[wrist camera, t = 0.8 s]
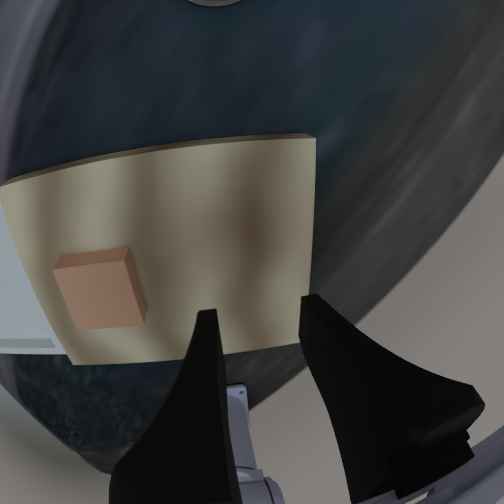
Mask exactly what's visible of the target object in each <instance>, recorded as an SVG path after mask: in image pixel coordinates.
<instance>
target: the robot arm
mask: <svg viewBox="0 0 504 504" xmlns="http://www.w3.org/2000/svg"><path fill="white" fill-rule="evenodd" d="M298 337H299V340H300V344H301V347H302V350H303V354H304V357H305V360H306V362H307V364H308V367H309V369H310V371H311V373H312V376H313V378H314V380H315V382H316V384H317V387H318V389H319V391H320V394H321V396H322V398H323V400H324V403H325V405H326V408H327V410H328V413H329V416H330V419H331V423H332V426H333V429H334V432H335V436H336V439H337V443H338V447H339V451H340V454H341V458H342V462H343V467H344V470H345V475H346V480H347V485H348V489H349V495H350V501H351V503H352V504H405V503H407V502H409V501H411V500H413V499H415V498H417V497H419V496H421V495H423V494H425V493H426V492H428V491H429V492H428V494H427V497H426V498H424V499H422V500H421V501H419V502H417V503H415V504H497V503H498V502H499V501H500V500H501V499H502V498H503V497H504V425H503V426H502V427H501V428H499V429H498V430H497V431H495V432H494V433H493V434H491V435H490V436H488V437H487V438H486V439H484V440H483V441H481V442H480V443H478V444H477V445H475V446H474V447H472V448H470V446H469V444H468V443H467V440H468V439H470V436H469V434H468V432H467V431H466V430H467V429H468V428H469V427H470V426H471V425H472V424H473V423H474V421H475V420H476V419H477V418H478V417H479V416H480V414H481V413H482V412H483V410H484V408H485V403H484V401H483V400H482V398H481V397H480V395H479V394H478V393H477V391H476V390H475V388H474V387H473V386H472V385H469V384H466V383H462V382H458V381H455V380H451V379H448V378H445V377H443V376H440V375H437V374H435V373H432V372H430V371H427V370H425V369H423V368H420V367H418V366H416V365H414V364H412V363H410V362H408V361H406V360H404V359H402V358H401V357H399V356H397V355H395V354H394V353H392V352H390V351H389V350H387V349H385V348H383V347H382V346H381V345H379V344H378V343H376V342H375V341H373V340H372V339H371V338H369V337H368V336H366V335H365V334H364V333H362V332H361V331H359V330H358V329H357V328H356V327H355V326H354V325H352V324H351V323H350V322H349V321H347V320H346V319H345V318H344V317H343V316H342V315H340V314H339V313H338V312H337V311H336V310H335V309H334V308H332V307H331V306H330V305H329V304H328V303H327V302H326V301H324V300H323V299H322V298H321V297H320V296H319V295H318V294H312V295H306V296H301V304H300V318H299V331H298ZM249 427H250V421H249V411H248V402H247V392H246V386H245V385H243V384H239V385H232V386H227V382H226V368H225V361H224V354H223V347H222V341H221V335H220V328H219V322H218V315H217V308H215V309H206V310H199V311H198V313H197V317H196V322H195V327H194V330H193V334H192V337H191V340H190V343H189V346H188V349H187V352H186V355H185V357H184V360H183V362H182V364H181V367H180V369H179V371H178V374H177V376H176V378H175V380H174V382H173V384H172V386H171V388H170V390H169V392H168V394H167V396H166V397H165V399H164V401H163V403H162V404H161V406H160V407H159V409H158V411H157V412H156V414H155V416H154V417H153V419H152V420H151V422H150V423H149V424H148V426H147V427H146V428H145V430H144V431H143V432H142V434H141V435H140V436H139V438H138V439H137V440H136V442H135V443H134V444H133V445H132V446H131V448H130V449H129V450H128V451H127V452H126V453H125V454H124V455H123V457H122V458H121V459H120V460H119V461H118V462H117V463H116V464H115V465H114V467H113V471H112V475H111V480H110V485H109V504H285V503H284V498H283V495H282V492H281V489H280V487H279V485H278V484H277V483H276V482H275V481H273V480H272V479H271V478H270V477H264V476H263V472H262V470H261V469H260V470H257V467H256V462H255V457H254V452H253V447H252V443H251V439H250V433H249Z"/></svg>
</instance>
